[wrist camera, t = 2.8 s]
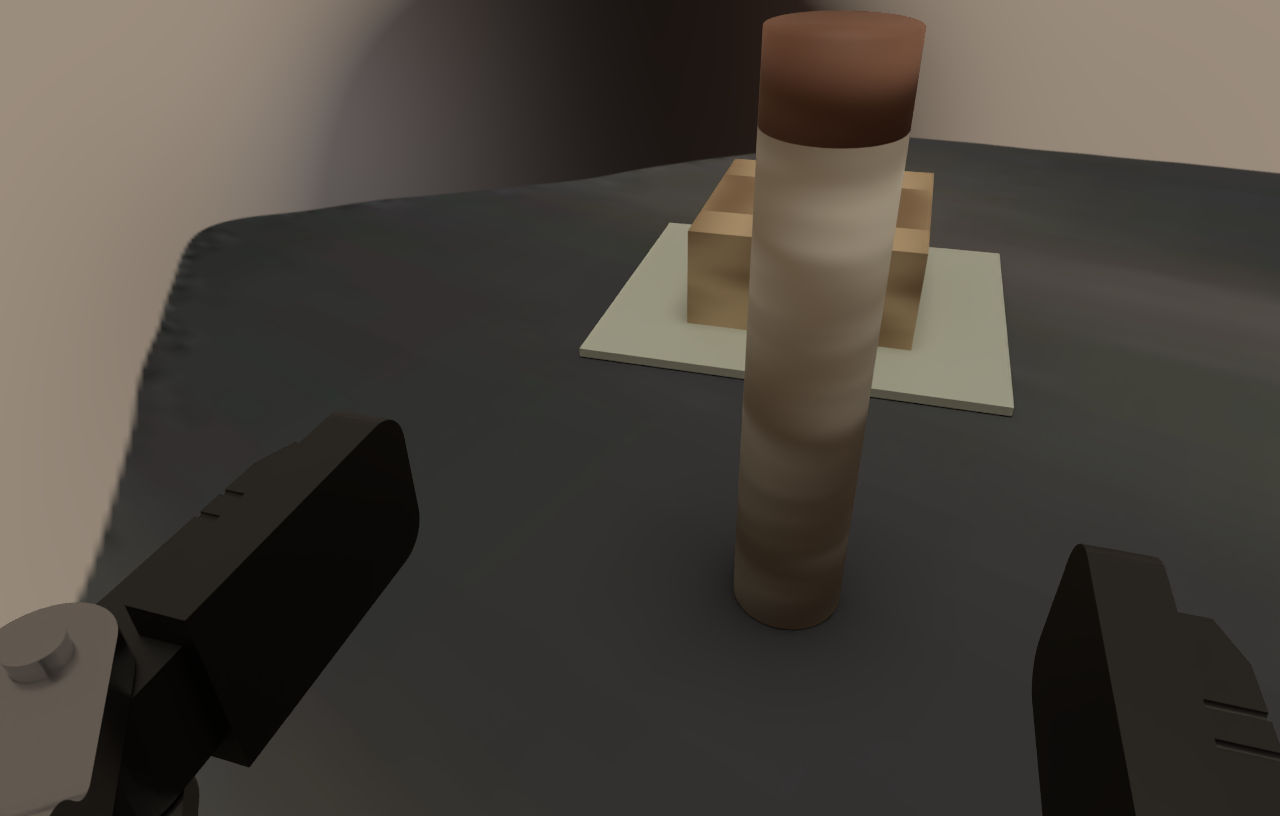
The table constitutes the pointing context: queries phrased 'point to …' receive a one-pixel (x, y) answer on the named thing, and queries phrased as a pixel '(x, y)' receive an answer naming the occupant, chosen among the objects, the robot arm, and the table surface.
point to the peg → (817, 294)
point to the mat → (928, 374)
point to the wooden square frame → (727, 255)
